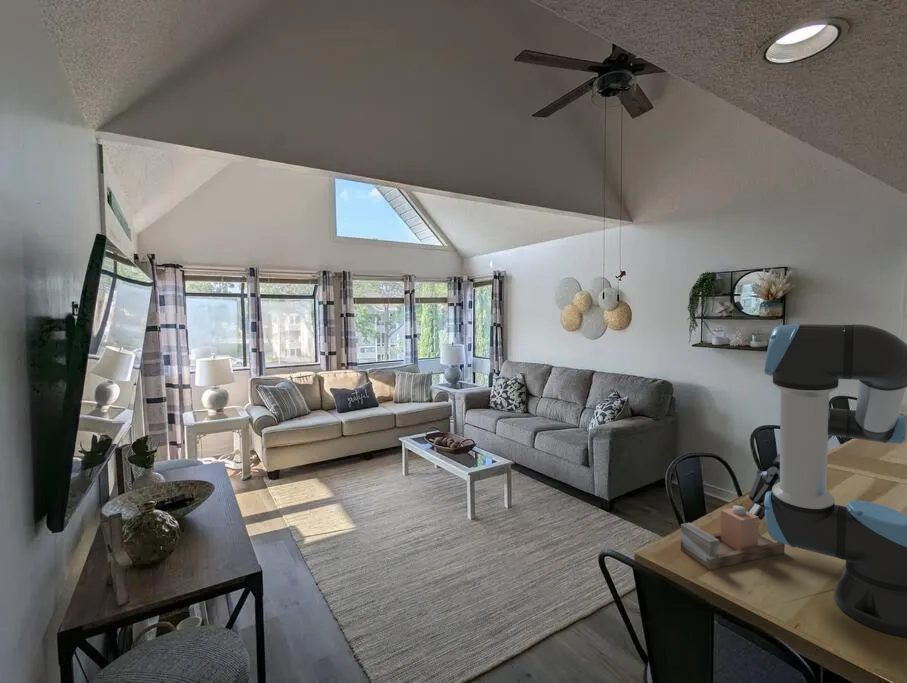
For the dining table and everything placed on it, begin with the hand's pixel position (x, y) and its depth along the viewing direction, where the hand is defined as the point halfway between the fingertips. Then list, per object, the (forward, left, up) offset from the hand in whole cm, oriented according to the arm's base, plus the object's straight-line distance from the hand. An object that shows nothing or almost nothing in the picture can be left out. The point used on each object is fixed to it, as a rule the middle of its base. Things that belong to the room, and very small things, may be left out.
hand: (747, 525), depth 125 cm
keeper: (-3, +3, -4) cm, 6 cm away
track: (-4, +5, -6) cm, 9 cm away
